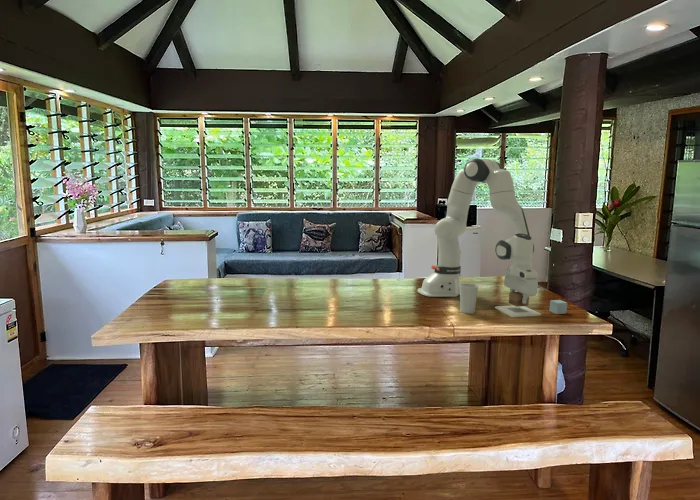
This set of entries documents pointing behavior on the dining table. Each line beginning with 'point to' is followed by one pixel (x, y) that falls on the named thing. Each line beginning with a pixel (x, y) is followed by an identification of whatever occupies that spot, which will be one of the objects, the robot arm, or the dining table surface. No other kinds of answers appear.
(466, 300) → the cup
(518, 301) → the walnut block
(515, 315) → the plate
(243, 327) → the dining table surface
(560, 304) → the grey cube
